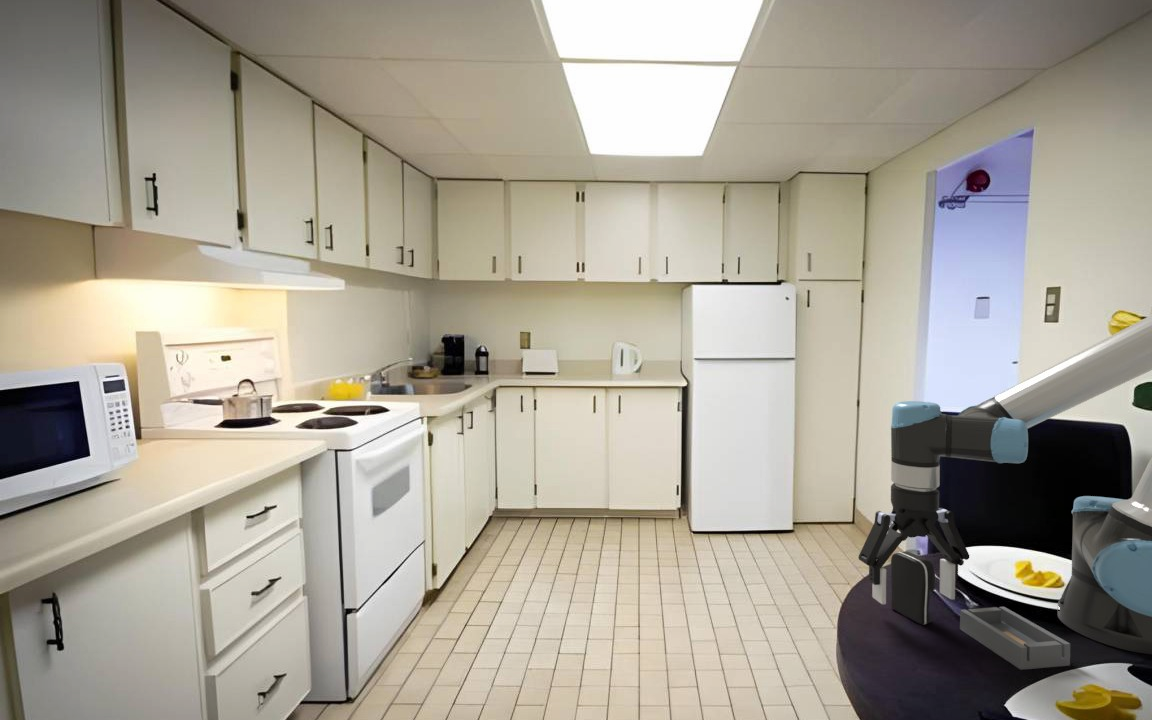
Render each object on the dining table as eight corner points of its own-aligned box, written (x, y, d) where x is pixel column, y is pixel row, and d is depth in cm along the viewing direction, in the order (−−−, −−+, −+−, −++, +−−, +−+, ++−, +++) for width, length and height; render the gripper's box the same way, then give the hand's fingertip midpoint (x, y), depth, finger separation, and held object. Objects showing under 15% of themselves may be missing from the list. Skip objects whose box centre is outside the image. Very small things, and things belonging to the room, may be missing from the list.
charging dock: (1003, 625, 94) (1004, 606, 94) (1069, 665, 83) (1070, 643, 83) (959, 629, 94) (960, 609, 93) (1020, 669, 82) (1021, 647, 82)
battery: (938, 623, 95) (939, 561, 95) (922, 627, 94) (923, 564, 94) (904, 604, 102) (905, 547, 102) (889, 608, 101) (889, 549, 101)
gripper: (960, 477, 102) (958, 584, 103) (838, 483, 100) (837, 592, 101) (994, 488, 95) (992, 603, 96) (863, 494, 92) (863, 613, 93)
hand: (913, 598), depth 98 cm, fingers open, 13 cm apart
